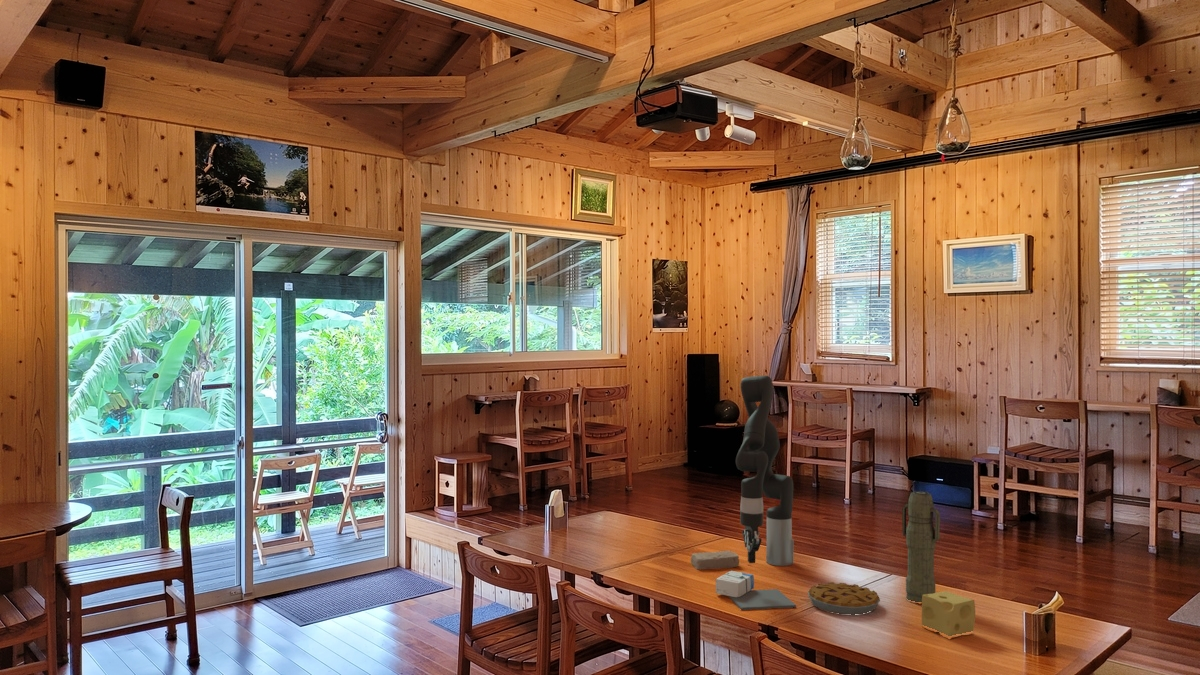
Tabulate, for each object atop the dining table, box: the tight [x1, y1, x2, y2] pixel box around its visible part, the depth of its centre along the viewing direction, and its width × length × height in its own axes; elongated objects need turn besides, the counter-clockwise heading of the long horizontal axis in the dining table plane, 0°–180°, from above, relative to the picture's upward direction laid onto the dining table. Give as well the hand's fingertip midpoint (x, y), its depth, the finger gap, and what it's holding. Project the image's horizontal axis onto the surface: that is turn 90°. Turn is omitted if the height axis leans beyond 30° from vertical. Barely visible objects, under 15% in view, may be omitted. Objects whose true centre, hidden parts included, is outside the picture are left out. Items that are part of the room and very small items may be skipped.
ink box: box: [715, 570, 755, 598], centre depth 260 cm, size 9×5×12 cm
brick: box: [690, 550, 740, 570], centre depth 293 cm, size 16×8×5 cm, turn 102°
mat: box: [727, 588, 797, 611], centre depth 254 cm, size 18×16×1 cm
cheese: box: [921, 590, 976, 636], centre depth 228 cm, size 10×11×10 cm
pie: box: [807, 582, 881, 616], centre depth 250 cm, size 22×22×5 cm
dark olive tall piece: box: [901, 490, 941, 602], centre depth 255 cm, size 9×12×35 cm
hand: (751, 562), depth 262 cm, fingers closed
